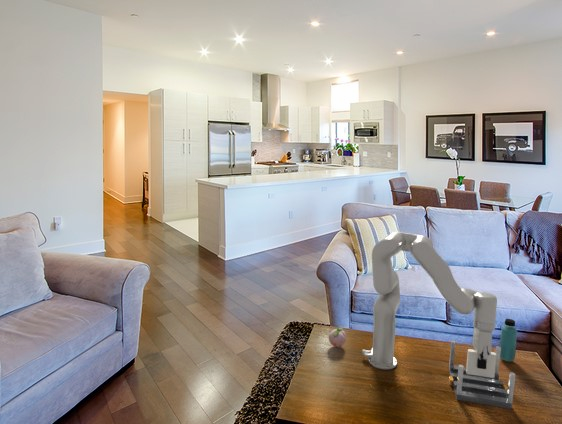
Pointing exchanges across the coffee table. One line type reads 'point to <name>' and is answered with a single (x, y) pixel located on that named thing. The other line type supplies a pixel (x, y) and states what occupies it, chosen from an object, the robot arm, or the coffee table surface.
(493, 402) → the rack
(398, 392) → the coffee table surface
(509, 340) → the beverage bottle
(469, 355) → the block
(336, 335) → the decorative fruit
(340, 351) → the coffee table surface
